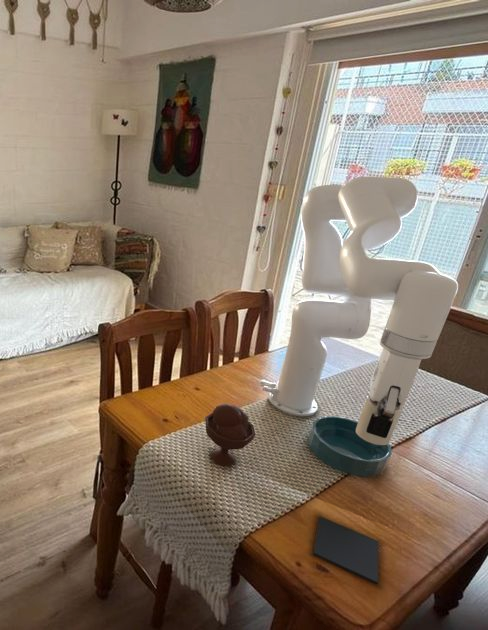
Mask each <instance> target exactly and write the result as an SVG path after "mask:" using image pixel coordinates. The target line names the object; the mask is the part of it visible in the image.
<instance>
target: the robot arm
mask: <svg viewBox="0 0 488 630" xmlns="http://www.w3.org/2000/svg"><path fill="white" fill-rule="evenodd" d="M418 197H419V194H418V189H417V187H416V185H415V184H414V183H413V182H412V181H411V180H409V179H407V178H402V177H388V176H387V177H386V176H385V177H384V176H358V177H355V178H352V179H349V180H348V181H346V182H345V183H344V184H324V185H318V186H315V187H312V188H311V189H309V190H308V191H307V192H306V194H305V195H304V197H303V199H302V203H301V209H300V221H301V227H302V232H303V236H304V248H303V259H302V271H301V285H302V289H303V290H304V291H305V292H307V293H309V294H314V295H323V296H324V295H325V296H334V297H335V296H336V297H343V298H344V300H343V301H341V300H334V299H333V300H331V299H319V298H311V299H310V298H309V299H304V300H301V301H299V302H296V304H295V305H294V307H293V309H292V312H291V313H292V314H291V326H290V334H289V335H290V336H289V340H288V344H287V348H286V351H285V354H284V355H285V356H284V359H283V363H282V366H281V371H280V375H279V377H278V380H277V382H270V381H267V380H265V379H261V380H260V382H259V383H260V384H259V386H260V387H262V391H264V392H267V393H268V397H267V399H268V401H269V402H270V404H271V405H273V406H274V407H275V408H276V409H278V410H279V411H282V412H284V413H287V414H289V415H292V416H298V417H309V416H313V415H315V414H316V413H317V412H318V409H319V407H318V403H317V402H316V401H315V396H316V394H317V390H318V387H319V383H320V380H321V377H322V373H323V370H324V368H325V364H326V360H327V357H328V349H327V347H326V345H325V343H324V342H323V341H322V339H323V338H333V339H345V340H346V339H347V340H358V339H361V338H363V337H364V336H366V334H367V332H368V331H369V328H370V324H371V317H372V316H371V315H372V307H373V305H372V304H373V300H381V301H382V300H383V301H393V303H392V306H391V308H390V311H389V314H388V318H387V320H386V324H385V326H384V329H383V332H382V335H381V337H380V341H379V345H380V346H381V347H382V350H381V352H380V355H379V358H378V360H377V362H376V365H375V367H374V370H373V373H372V375H371V377H370V381H369V395H370V398H371V400H372V401H378V403H377V407H376V410H375V413H374V414H373V413H372V416H371V418H370V421H369V424H368V426H367V429H366V431H367V433H370V434H373V435H376V436H379V437H382V438H386V437H387V435H388V433H389V430H390V428H391V425H392V423H393V418H394V415H395V412H396V408H397V407H398V408H401V407H403V408H404V406H405V403H406V402H407V399H408V397H409V394H410V392H411V389H412V387H413V384H414V382H415V379H416V376H417V374H418V371H419V368H420V366H421V362H422V360H426V359H430V358H431V357H432V355H433V352H434V350H435V347H436V346H437V342H438V340H439V338H440V335H441V333H442V330H443V328H444V325H445V323H446V320H447V318H448V315H449V313H450V311H451V308H452V306H453V303H454V301H455V298H456V295H457V294H458V290H459V283H458V281H457V280H455V278H453V277H451V276H449V275H447V274H443V273H441V272H440V271H439V270H438V269H437V268H436V266H434V265H433V264H431V263H429V262H425V261H419V260H407V259H406V260H404V259H396V258H395V259H393V258H380V257H376V258H375V257H370V256H368V255H367V253H366V251H370V250H372V249H375V248H379V247H381V246H384V245H386V244H388V243H389V242H391V241H392V240H394V239H395V238H396V237H397V236H398V235H399V233H400V232H401V229H402V225H403V222H402V218H405V217H407V216H408V215H410V213H412V212H413V211H414V209H415V208H416V205H417V203H418ZM331 221H335V222H336V221H337V222H346V224H347V227H348V229H349V232H350V233H349V235H348V236H347V237H346V238H345V239H344V241H343V238H342V235H341V233H340V232H339V230H338V228H337V227H336V226H335V224H333V223H332V222H331ZM383 398H386V399H387V402H386V401H382V399H383ZM381 405H386V406H385V408H384V409H383V408H382V409H381ZM380 409H381V410H380Z"/></svg>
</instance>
